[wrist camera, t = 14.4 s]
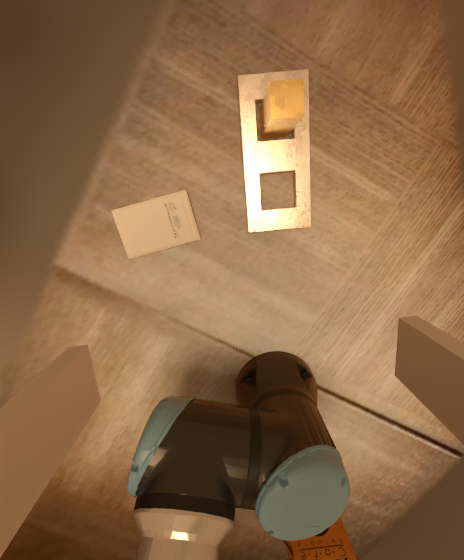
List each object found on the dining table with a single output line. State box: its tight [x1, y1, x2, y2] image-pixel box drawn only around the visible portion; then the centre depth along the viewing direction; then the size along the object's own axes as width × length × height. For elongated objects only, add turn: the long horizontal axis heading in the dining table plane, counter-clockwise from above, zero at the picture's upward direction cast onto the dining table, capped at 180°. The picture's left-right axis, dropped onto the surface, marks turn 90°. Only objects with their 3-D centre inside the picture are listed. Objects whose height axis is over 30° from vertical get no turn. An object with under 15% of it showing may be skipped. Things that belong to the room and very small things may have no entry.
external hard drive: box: [111, 190, 201, 259], centre depth 46 cm, size 2×8×12 cm
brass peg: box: [260, 78, 304, 139], centre depth 38 cm, size 4×4×10 cm
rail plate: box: [237, 69, 311, 232], centre depth 43 cm, size 22×10×2 cm, turn 5°
